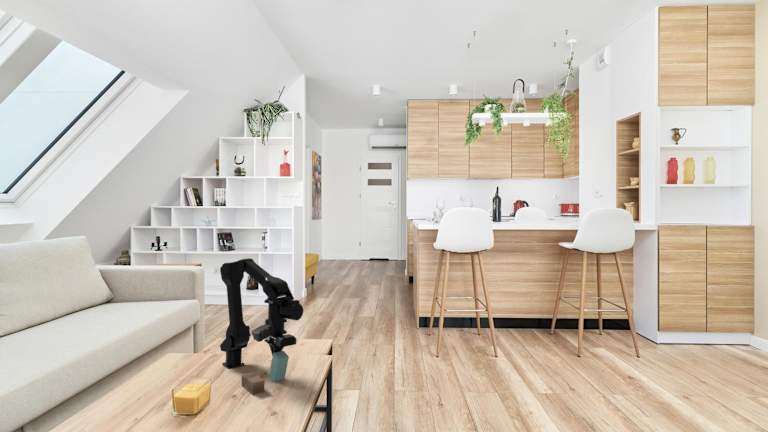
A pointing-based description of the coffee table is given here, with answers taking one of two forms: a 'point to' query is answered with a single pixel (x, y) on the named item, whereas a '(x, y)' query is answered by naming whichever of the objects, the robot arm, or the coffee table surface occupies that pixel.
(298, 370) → the coffee table surface
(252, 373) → the walnut block
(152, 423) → the coffee table surface
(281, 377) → the teal block
